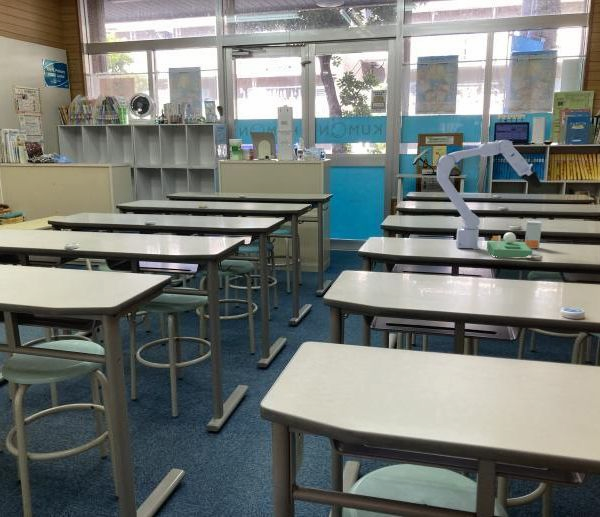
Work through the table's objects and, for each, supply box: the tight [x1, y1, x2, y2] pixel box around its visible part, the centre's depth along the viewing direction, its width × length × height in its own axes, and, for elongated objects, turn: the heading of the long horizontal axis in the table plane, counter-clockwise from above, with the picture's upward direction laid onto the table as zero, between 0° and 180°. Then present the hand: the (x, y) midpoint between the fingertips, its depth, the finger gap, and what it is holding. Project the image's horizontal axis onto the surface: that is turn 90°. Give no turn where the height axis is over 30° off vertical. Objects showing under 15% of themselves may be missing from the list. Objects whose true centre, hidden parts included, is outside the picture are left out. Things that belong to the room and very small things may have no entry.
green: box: [486, 235, 533, 257], centre depth 231 cm, size 16×20×9 cm
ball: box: [503, 231, 517, 244], centre depth 236 cm, size 5×5×5 cm
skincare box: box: [524, 220, 543, 249], centre depth 244 cm, size 6×4×12 cm
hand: (537, 185), depth 235 cm, fingers open, 7 cm apart
